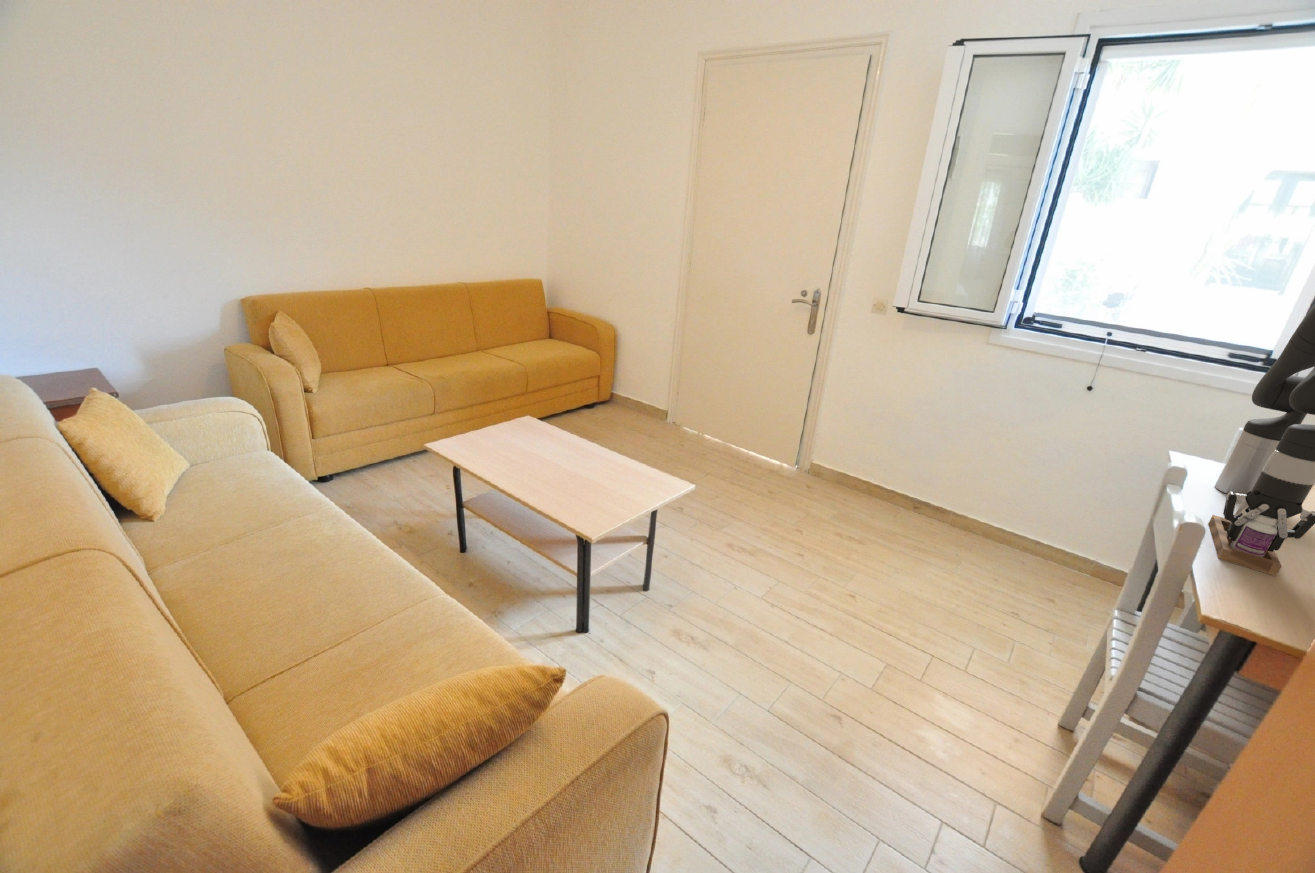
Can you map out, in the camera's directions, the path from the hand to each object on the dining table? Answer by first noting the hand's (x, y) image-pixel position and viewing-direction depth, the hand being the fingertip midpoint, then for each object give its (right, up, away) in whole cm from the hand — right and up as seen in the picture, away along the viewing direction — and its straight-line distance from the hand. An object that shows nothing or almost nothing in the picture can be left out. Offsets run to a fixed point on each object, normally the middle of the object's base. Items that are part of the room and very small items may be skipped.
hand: (1249, 544), depth 122 cm
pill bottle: (0, -2, +1) cm, 2 cm away
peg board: (+3, -2, +5) cm, 6 cm away
